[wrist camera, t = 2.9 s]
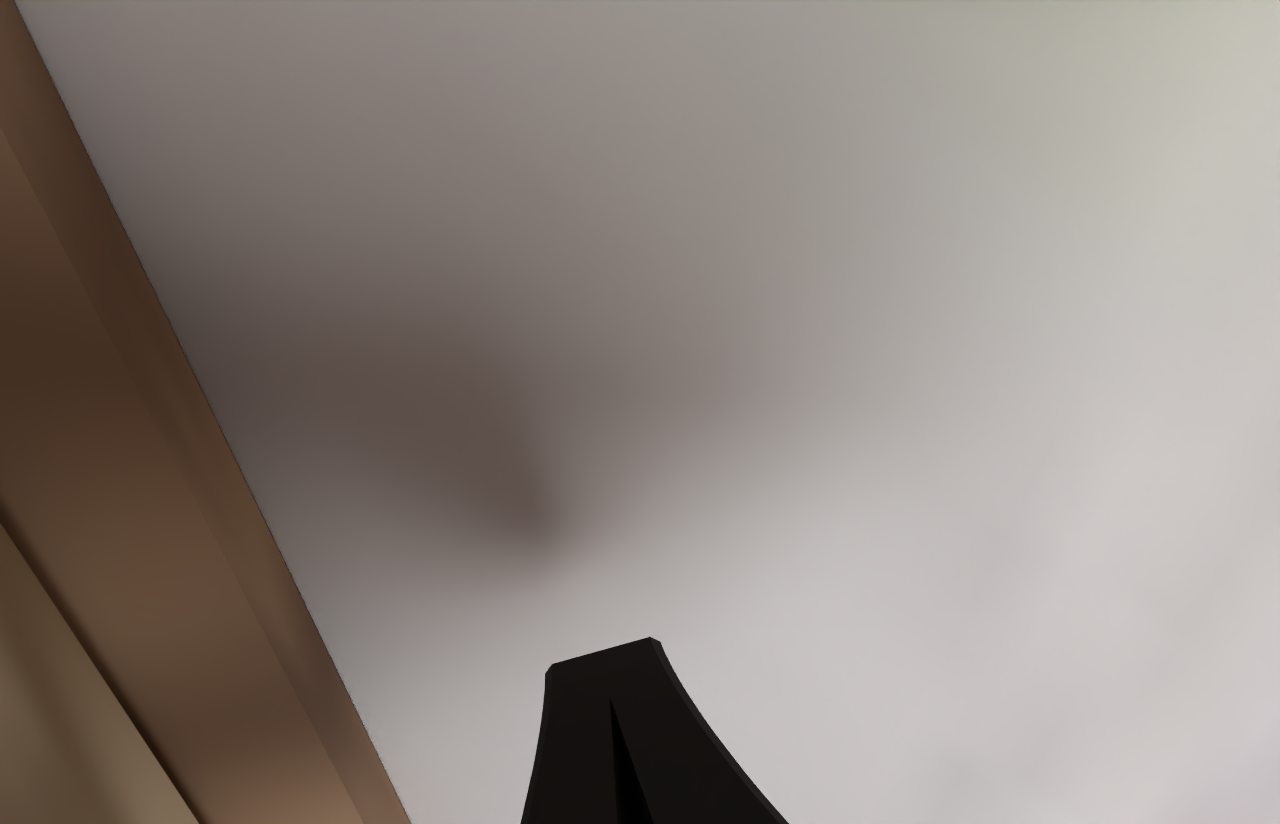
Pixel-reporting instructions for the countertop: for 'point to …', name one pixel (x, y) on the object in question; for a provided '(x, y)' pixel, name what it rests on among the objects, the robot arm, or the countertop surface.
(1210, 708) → the countertop surface
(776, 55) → the countertop surface
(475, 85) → the countertop surface
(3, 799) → the long beige beam
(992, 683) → the countertop surface
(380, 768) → the brown wooden flat board
